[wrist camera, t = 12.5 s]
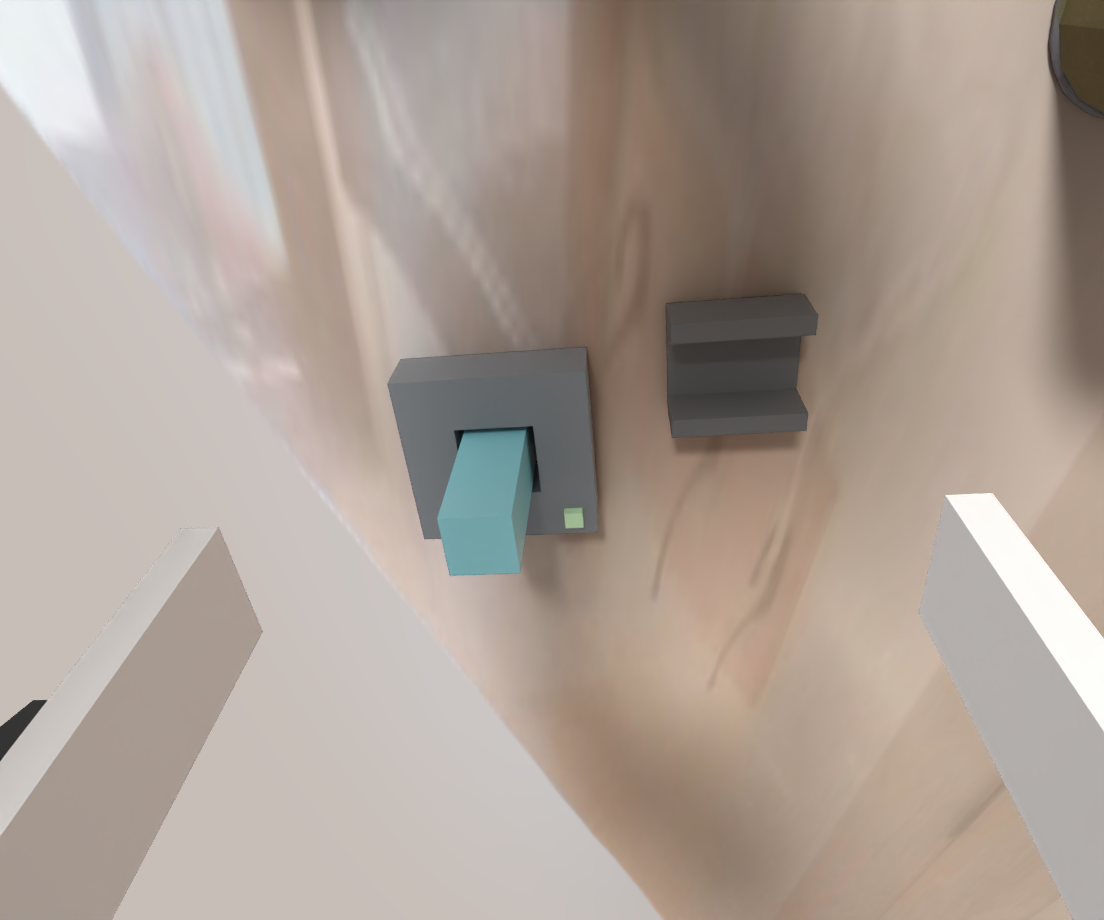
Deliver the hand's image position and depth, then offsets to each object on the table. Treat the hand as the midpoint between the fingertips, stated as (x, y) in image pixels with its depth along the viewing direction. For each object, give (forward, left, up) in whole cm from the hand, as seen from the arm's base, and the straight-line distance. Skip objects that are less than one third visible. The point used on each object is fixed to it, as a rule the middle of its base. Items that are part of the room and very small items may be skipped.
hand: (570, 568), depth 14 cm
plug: (+16, -7, -33) cm, 37 cm away
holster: (+11, +8, -33) cm, 35 cm away
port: (+16, -7, -33) cm, 37 cm away
